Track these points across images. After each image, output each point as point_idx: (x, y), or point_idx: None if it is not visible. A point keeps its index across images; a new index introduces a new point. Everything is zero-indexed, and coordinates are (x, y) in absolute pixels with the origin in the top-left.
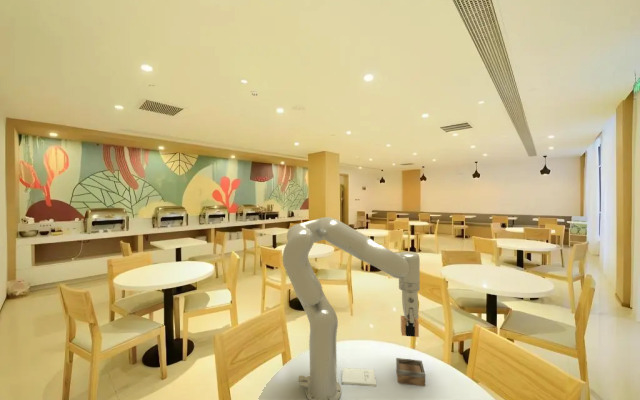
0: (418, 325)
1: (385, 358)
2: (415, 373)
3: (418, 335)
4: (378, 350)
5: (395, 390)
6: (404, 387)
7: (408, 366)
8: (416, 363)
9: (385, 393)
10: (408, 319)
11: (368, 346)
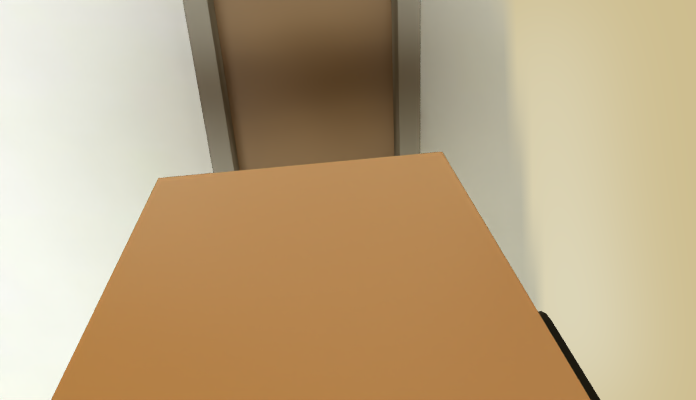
0: (547, 330)
1: (117, 259)
2: (419, 51)
3: (451, 169)
4: (23, 315)
5: (485, 175)
6: (443, 115)
7: (267, 101)
8: (214, 25)
9: (521, 232)
10: None
11: (4, 384)
